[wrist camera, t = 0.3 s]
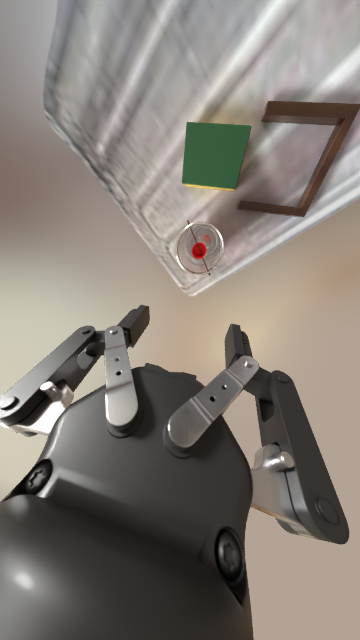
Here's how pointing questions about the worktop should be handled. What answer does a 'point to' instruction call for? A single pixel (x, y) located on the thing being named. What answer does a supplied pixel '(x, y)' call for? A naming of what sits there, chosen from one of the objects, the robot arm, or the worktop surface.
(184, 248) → the white canister
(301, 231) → the worktop surface
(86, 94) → the worktop surface
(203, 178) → the sponge
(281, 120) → the sponge rack
